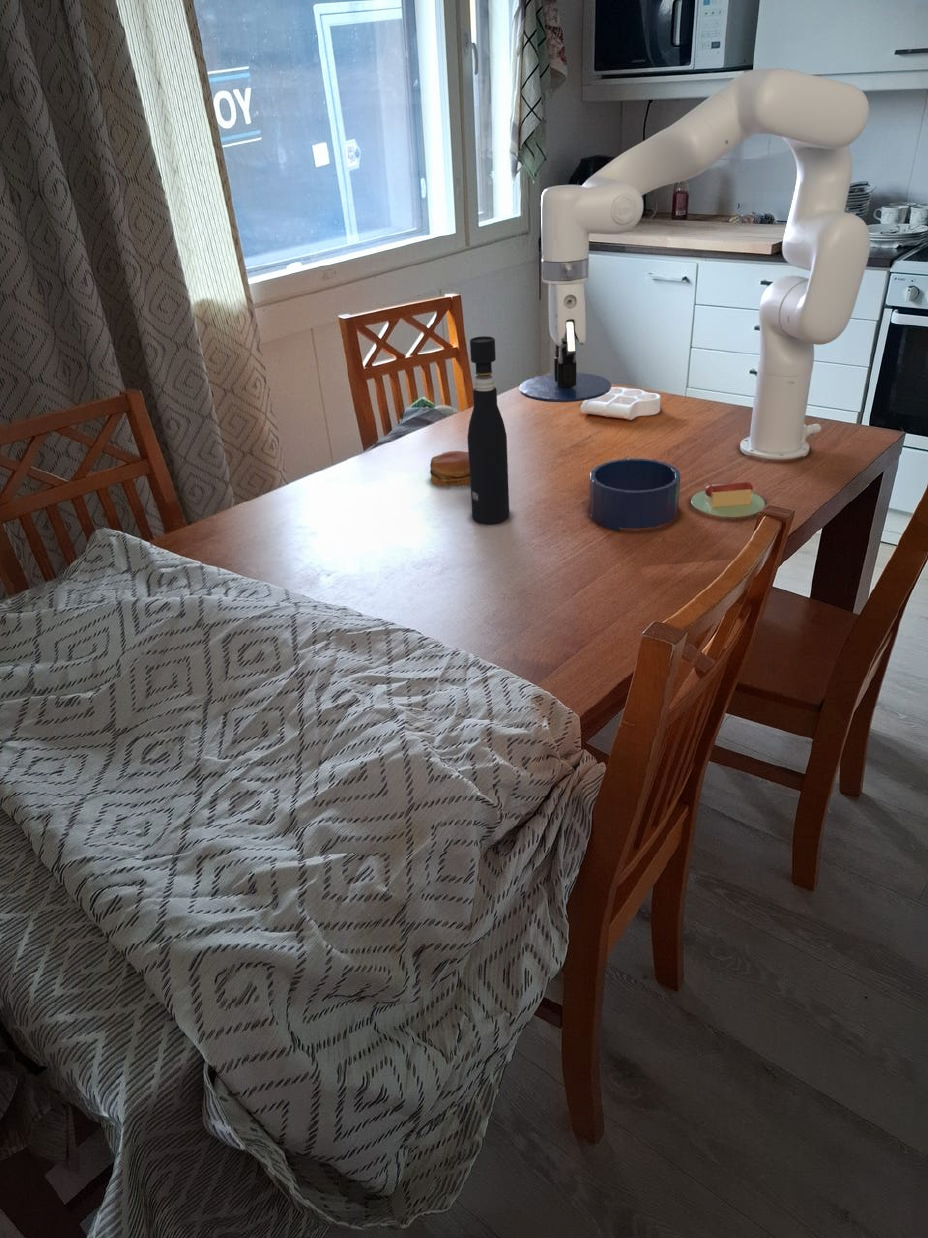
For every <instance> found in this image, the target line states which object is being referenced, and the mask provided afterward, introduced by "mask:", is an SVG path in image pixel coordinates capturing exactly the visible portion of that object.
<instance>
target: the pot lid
mask: <svg viewBox="0 0 928 1238" xmlns="http://www.w3.org/2000/svg"><path fill="white" fill-rule="evenodd" d="M558 363H559V359H558ZM611 387H612V383H611V382H610V380H609V379H608V378H605V377H603V376H600V375H597V374H592V373H585V372H583V373H582V372H576V385H575V386H570V387H558V385H557V382H555V380H554V373H548V374H547V373H546V374H543V375H538V376H535V377H531V378H529V379H526V380H524V381H523V382H522V383H521V384H520V385H519V393H520V394H521V396H523V397H525V398H528V399H530V400H534V401H539V402H546V403H576V402H583V401H584V400H589V399H594V398H597V397H600V396H602V395H604V394H606V393H608V392H609V391H610V389H611Z"/></svg>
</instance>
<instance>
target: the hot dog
mask: <svg viewBox="0 0 928 1238" xmlns="http://www.w3.org/2000/svg"><path fill="white" fill-rule="evenodd" d="M753 489H754V486H753V484H752V483H751V482H748V481H746V482H731V483H730V482H729V483H718V484H709V485H707V486H705V489H704V490H705V493H706V497H705V499H706V500H707V502H708V503H709V504H710V506H711V507H723V506H735V505H747V504H751V495H752V493H753Z"/></svg>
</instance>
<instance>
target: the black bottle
mask: <svg viewBox="0 0 928 1238" xmlns="http://www.w3.org/2000/svg"><path fill="white" fill-rule="evenodd" d="M469 349H470V362H471V363H473V364H475V372H474V373H475V375H476V376H474V379H473V383H474V384H473V386H474V388H473V389H472V398H473V409H472V412H471V415H470V419H469V423H468V429H467V430H468V431H467V452H468V455H469V472H470V485H469V487H470V488H469V489H470V500H471V501H470V502H471V503H470V505H471V518H472V520H473V521H474V522H475V523H476V524H479V525H485V526H491V525H492V526H493V525H494V526H495V525H500V524H503V523H504V522H506V521H508V520H509V518H510V494H509V493H510V491H509V464H508V437H507V432H506V431H507V430H506V426H505V422H504V419H503V416H502V414H501V411H500V408H499V406H498V393H497V392H498V390H497V387H495V385H496V383H495V380H496V379H495V377H494V375H492V374H493V367H492V365H493V364H492V363H493V362H496V360H497V357H496V338H495V337H492V336H486V335H484V336H483V335H482V336H475V337H472V338H470V339H469Z"/></svg>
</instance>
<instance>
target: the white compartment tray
mask: <svg viewBox="0 0 928 1238" xmlns="http://www.w3.org/2000/svg"><path fill="white" fill-rule="evenodd" d="M661 399H662V397H661V395H660V394H659V393H657V392H648V391H645V390H644V389H638V388H628V387H623V386H611V389H610V391H609V392H608V393H606V394H604V395H602V396H600V397H597V398H594V399H589V400H584V401H582V403H581V405H580V406H579V412H580V413H581V414H583V415H593V416H600V417H605V418H616V419H623V420H627V421H633V420H634V419H635V418H637V417H641V416H643V417H645V416H646V417H647V416H654V415H657V414H659V413H660V412H661Z"/></svg>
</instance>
